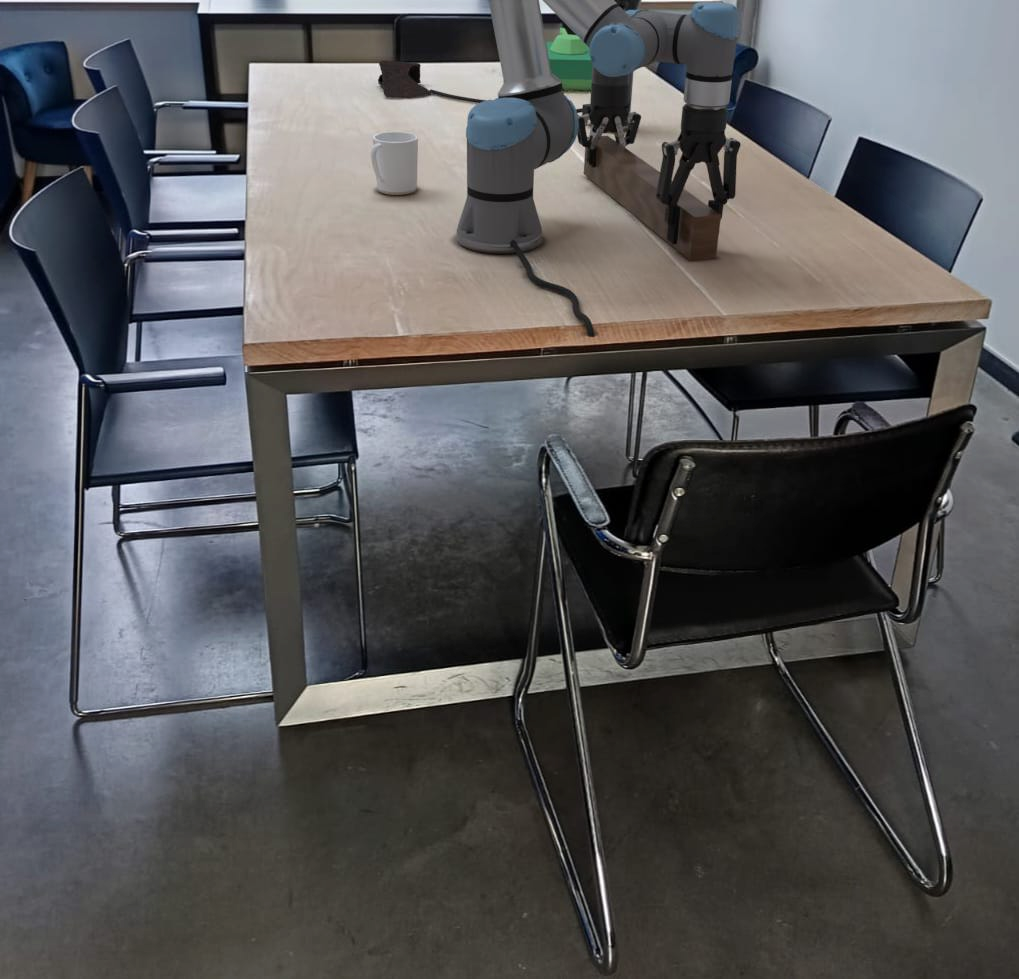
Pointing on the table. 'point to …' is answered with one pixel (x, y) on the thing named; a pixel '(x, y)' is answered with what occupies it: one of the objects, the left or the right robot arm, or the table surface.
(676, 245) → the beam
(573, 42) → the toy tank
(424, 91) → the axe head
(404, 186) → the mug
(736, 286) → the table surface
